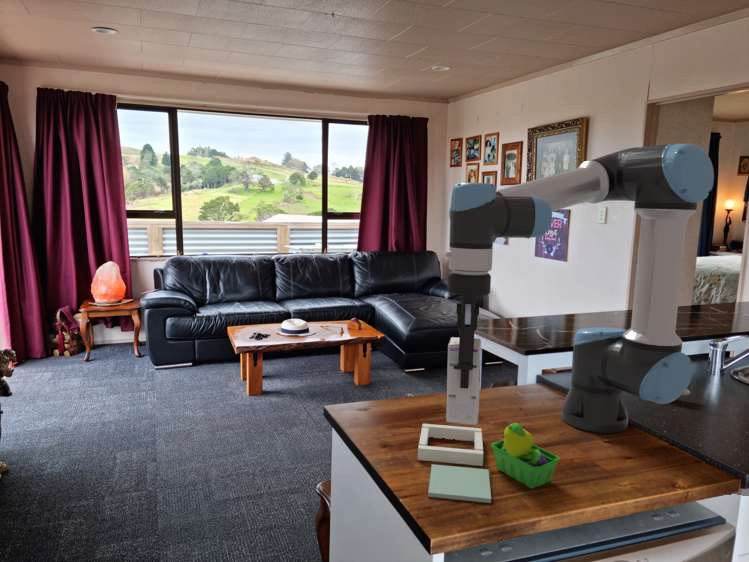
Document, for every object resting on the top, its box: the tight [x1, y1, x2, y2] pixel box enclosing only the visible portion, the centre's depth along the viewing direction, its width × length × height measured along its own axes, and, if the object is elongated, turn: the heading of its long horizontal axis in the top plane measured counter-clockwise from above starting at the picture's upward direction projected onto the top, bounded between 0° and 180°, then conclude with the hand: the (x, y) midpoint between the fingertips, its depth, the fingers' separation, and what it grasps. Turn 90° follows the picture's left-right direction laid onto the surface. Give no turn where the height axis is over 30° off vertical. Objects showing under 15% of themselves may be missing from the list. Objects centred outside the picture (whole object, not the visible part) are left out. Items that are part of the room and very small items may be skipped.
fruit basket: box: [491, 422, 561, 489], centre depth 108 cm, size 11×9×11 cm
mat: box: [427, 463, 492, 504], centre depth 104 cm, size 11×11×1 cm
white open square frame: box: [417, 423, 484, 467], centre depth 119 cm, size 13×13×2 cm
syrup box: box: [445, 336, 482, 426], centre depth 102 cm, size 6×6×14 cm
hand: (463, 397), depth 102 cm, fingers closed on syrup box, 6 cm apart
